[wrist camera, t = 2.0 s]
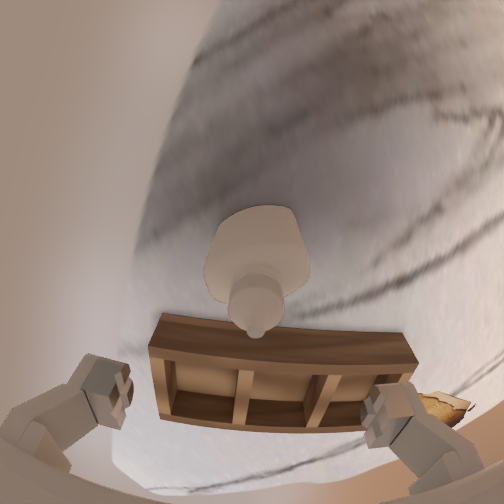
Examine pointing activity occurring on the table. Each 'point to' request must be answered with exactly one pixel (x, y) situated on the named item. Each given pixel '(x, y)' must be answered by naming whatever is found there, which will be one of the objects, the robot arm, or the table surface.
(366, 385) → the slot rack
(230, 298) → the eye dropper bottle
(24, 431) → the robot arm
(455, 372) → the table surface
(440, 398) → the parchment
